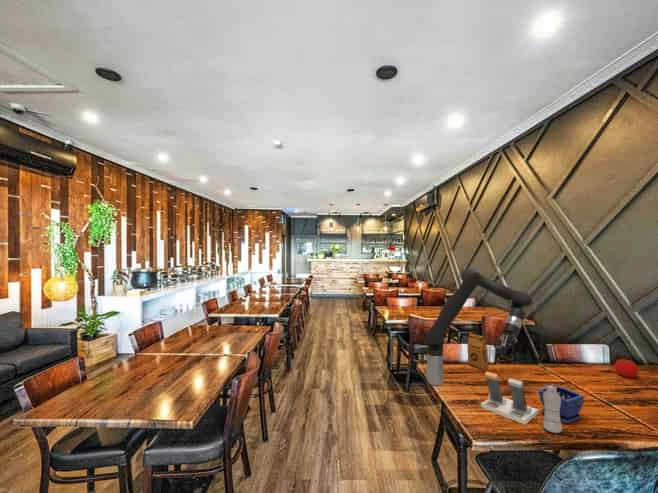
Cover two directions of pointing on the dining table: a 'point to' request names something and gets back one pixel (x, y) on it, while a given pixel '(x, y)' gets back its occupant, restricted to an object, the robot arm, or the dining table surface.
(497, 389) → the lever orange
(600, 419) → the dining table surface
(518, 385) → the lever grey
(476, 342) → the coffee package
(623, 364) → the tomato
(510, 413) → the switch unit
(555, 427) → the plastic bottle
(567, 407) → the flower pot
